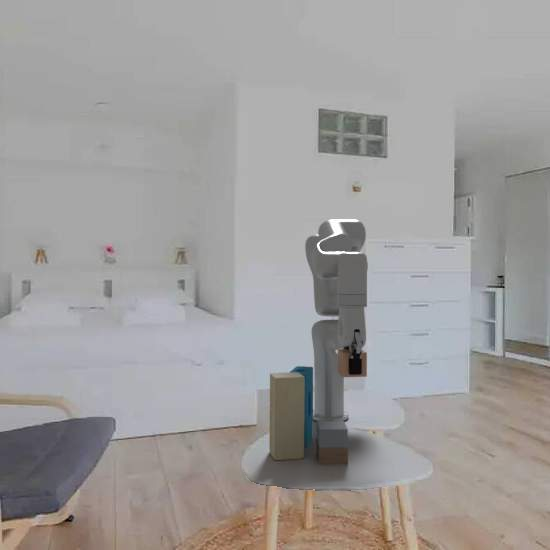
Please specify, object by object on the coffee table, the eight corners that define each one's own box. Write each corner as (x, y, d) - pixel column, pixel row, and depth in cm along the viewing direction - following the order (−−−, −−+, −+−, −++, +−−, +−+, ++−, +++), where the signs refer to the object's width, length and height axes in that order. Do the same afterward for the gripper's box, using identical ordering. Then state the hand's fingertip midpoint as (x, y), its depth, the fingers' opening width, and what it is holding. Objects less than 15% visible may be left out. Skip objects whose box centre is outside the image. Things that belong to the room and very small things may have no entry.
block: (305, 449, 144) (305, 375, 144) (287, 448, 145) (287, 374, 145) (313, 435, 156) (313, 366, 155) (296, 434, 157) (296, 366, 156)
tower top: (317, 438, 140) (317, 421, 140) (344, 438, 140) (344, 421, 140) (319, 447, 133) (319, 429, 133) (347, 447, 133) (347, 429, 133)
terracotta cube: (337, 372, 140) (337, 349, 139) (360, 371, 140) (360, 348, 140) (343, 377, 134) (343, 353, 133) (366, 376, 134) (366, 352, 134)
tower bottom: (316, 455, 140) (316, 438, 140) (343, 455, 140) (343, 437, 140) (319, 465, 133) (319, 447, 133) (347, 465, 133) (347, 447, 133)
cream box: (297, 448, 145) (297, 371, 144) (305, 458, 137) (305, 376, 137) (268, 451, 143) (268, 372, 142) (274, 461, 136) (274, 378, 135)
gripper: (330, 298, 145) (330, 365, 145) (345, 303, 127) (345, 379, 128) (357, 298, 145) (357, 364, 146) (376, 303, 128) (376, 378, 129)
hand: (351, 370), depth 137 cm, fingers closed on terracotta cube, 6 cm apart
